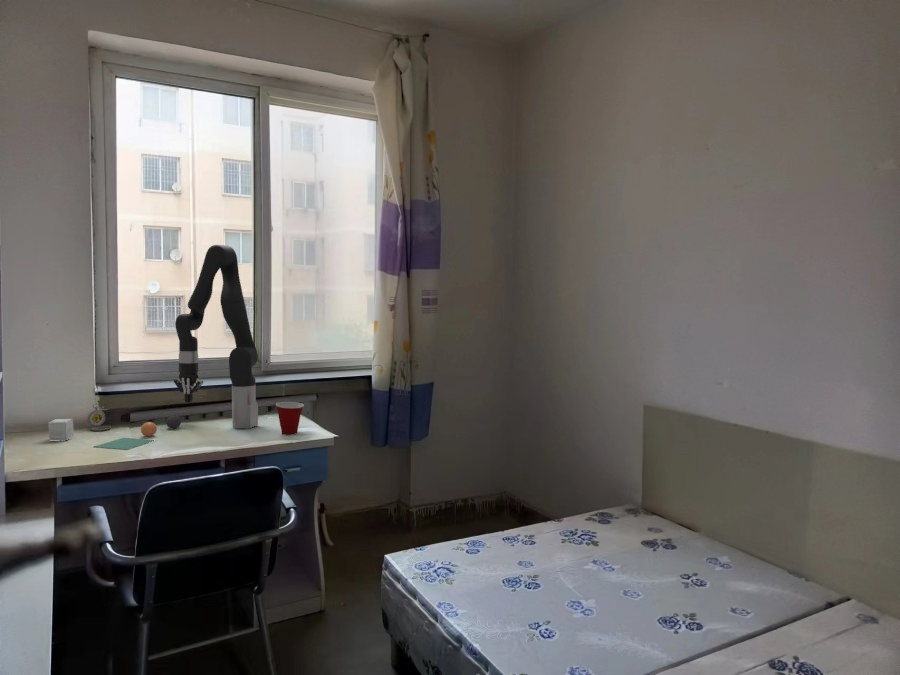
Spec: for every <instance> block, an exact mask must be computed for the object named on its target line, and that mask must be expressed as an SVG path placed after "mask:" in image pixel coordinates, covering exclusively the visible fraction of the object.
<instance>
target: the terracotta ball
mask: <svg viewBox="0 0 900 675" xmlns="http://www.w3.org/2000/svg"><path fill="white" fill-rule="evenodd" d="M157 428H158V426H157V425H156V424H155V422H152V421H147V422H144V423H143V424H142V425H141V428H140V433H141V434H142V435H143V436H144V437H147V436H149V437H153V436H154V435H155V434H156V432H157V430H158V429H157Z"/></svg>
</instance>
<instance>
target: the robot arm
mask: <svg viewBox="0 0 900 675" xmlns="http://www.w3.org/2000/svg"><path fill="white" fill-rule="evenodd" d="M238 262H239V261H238V256H237V253H236V251H235V249H234V248H233V247H232V246H230V245H226V244H225V245H224V244H212V245H211V246H210V247H209V248H208V249H207V251H206V253H205V257H204V260H203V264H202V267H201V270H200V273H199V276H198V279H197V281H196V282H197V283H196V285H195V288H194V290H193V291H192V294H191V296H190V297H189V300H188V301H187V308H188V309H189V310H190V312H189V313H182V314H181V313H180V314H179V315H178V316H177V317H176V318H175V322H174V324H175V330H176V334H177V338H178V340H179V344H178V346H179V348H178V350H179V351H178V352H179V353H178V373H179V375H178V378H177V379H174V380H173V383H174V384H175V386H176V388H177V389H178V391H179V392H180V393H183V394H184V403H187V404H190V403H192V402H193V400H194V398H193V396H194V393H197V392H198V391H199V389H200V388H201V387H202V385H203V384H204V381H203V380H201V379H199V375H198V372H199V352H198V350H199V349H198V348H199V347H198V346H199V345H198V344H199V343H198V341H199V340H198V338H197V337H196V336H193V334H192V331H196V330H198V329H200V327H201V326H202V324H203V322H204V318H205V317H204V316H205V310H206V308H207V306H208V304H209V302H210V301H211V298H212V295H213V286H214V280H215V277H216V274H217V273H218V271H219V270H220V271H221V272H220V273H221V277H222V286H221V287H222V289H221V293H220V306H221V311H222V316H223V318H224V320H225V322H226V324H227V327H228V328H229V329H230V331H231V333H232V335H233V338H234V343H235V348H233V349H232V350H231V351H230V353H229V356H228V371H229V378H230V381H231V410H232V411H231V413H232V414H231V417H232V418H231V420H232V424H231V425H232V428H233V429H237V428H245V429H252V427H253V428H255V427H257V426H256V425H258V426H259V404H258V402H257V399H256V398H257V397H256V394H257V393H256V392H257V391H256V390H257V388H256V385H257V384H256V377H254V375H253V372H252V370H253V369H252V367H254V366H255V365H256V364H257V363H258V359H259V357H258V356H259V355H258V350H257V348H256V345H255V341H254V339H253V336H252V332H251V327H250V326H251V325H250V321H249V318H248V316H249V315H248V312H247V307H246V302H245V299H244V298H245V297H244V293H243V289H242V285H241V280H240V273H239V263H238ZM254 426H255V427H254Z"/></svg>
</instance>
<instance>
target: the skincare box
mask: <svg viewBox="0 0 900 675" xmlns="http://www.w3.org/2000/svg"><path fill="white" fill-rule="evenodd" d="M47 425H48V441H49V440H60V441H59V442H62V441H61V440H68V439H70V438H72V437H74V438H75V436H74V435H75V432H74V431H75V430H74V419H73V418H55V419H53V420H51V421H49V422H47ZM72 439H73V438H72ZM70 440H71V439H70ZM68 441H69V440H68Z"/></svg>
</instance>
